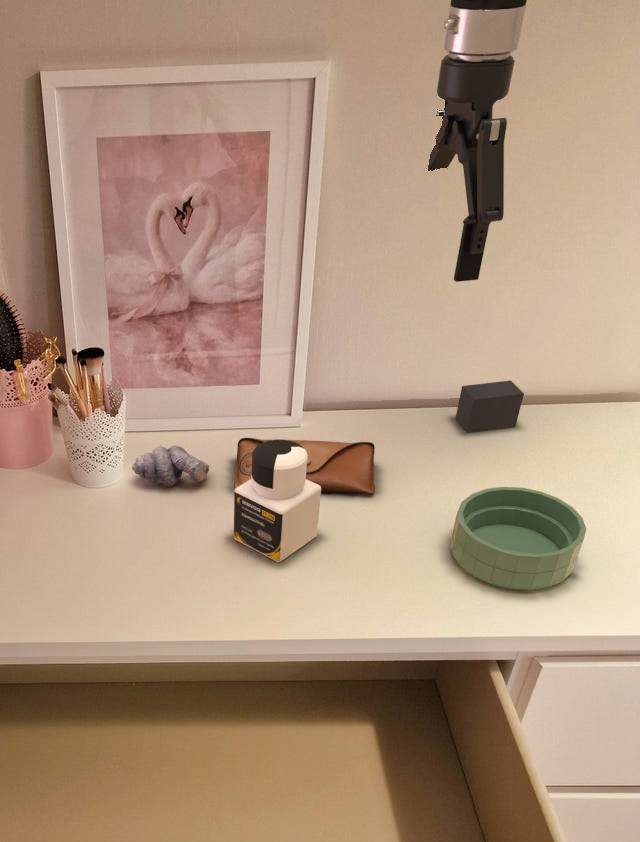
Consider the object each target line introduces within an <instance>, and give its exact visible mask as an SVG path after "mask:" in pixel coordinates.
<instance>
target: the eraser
mask: <svg viewBox="0 0 640 842" xmlns="http://www.w3.org/2000/svg"><path fill="white" fill-rule="evenodd" d="M524 396H525V393H524V392H523V391H522V390H521V389H520V387H518V386H517V385H516V384H515V383H514V382H513V381H512V380H510V379H509V380H502V381H494V382H486V383H485V382H484V383H476V384H469V385H468V384H467V385H462V386H461V390H460V394H459V398H458V405H457V409H456V414H455V418H454V419H455V421H456V422H457V423H458V424H459V425H460V426H461V428H462V429H463V430H464V431H465V432H466V434H469V433H475V432H485V431H494V430H503V429H509V428H511V429H512V428H516V426H517V423H518V419H519V414H520V411H521V408H522V403H523V400H524Z"/></svg>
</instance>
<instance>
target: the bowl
mask: <svg viewBox="0 0 640 842" xmlns="http://www.w3.org/2000/svg"><path fill="white" fill-rule="evenodd" d="M586 532H587V527H586V524H585V520H584V518H583V516H582V515H581V514H580V513H579V512H578V511H577V510H576V508H574V507H573V506H572V505H570V504H568V503H567V502H565V501H564V500H562V499H561V498H559V497H556V496H554V495H551V494H548V493H547V492H543V491H540V490H536V489H532V488H527V487H515V486H499V487H498V486H497V487H491V488H484V489H482V490H479V491H475V492H473V493H471V494H469V495H468V496H467V497H466V498H464V499H463V500H462V501H461V502H460V504H459V507H458V509H457V512H456V516H455V521H454V525H453V529H452V533H451V538H450V551H451V555H452V556H453V557H454V559H455V561H456V562H457V564H458V565H459V567H461V568H463V570H464V571H466V572H468V573H469V574H470V575H471V576H473V577H474V578H476V579H478V580H480V581H482V582H485V583H486V584H490V585H491V586H495V587H498V588H504V589H509V590H516V591H517V590H518V591H529V590H537V589H544V588H549V587H552V586H554V585H555V586H556V585H557V584H559V583H561V582H563V581H564V580H566V579H567V578H568V577H569V576H570V575H571V574H572V573H573V571H574V568H575V566H576V563H577V560H578V557H579V555H580V552H581V550H582V549H581V548H582V545H583V543H584V540H585V537H586Z"/></svg>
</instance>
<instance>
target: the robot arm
mask: <svg viewBox="0 0 640 842" xmlns="http://www.w3.org/2000/svg"><path fill="white" fill-rule="evenodd" d="M527 1H528V0H450V5H449V11H448V16H447V17H448V18H447V19H445V20H444V22H443V28H444V30H445V31H446V32H445V38H444V44H443V45H444V46H443V49H444V51H445V52H446V53H448V54H446V55H445V56H444V57H443V58H442V59H441V62H440V68H439V74H438V81H437V87H436V94H437V95H438V96H439V97H440V98H442V99H444V100H445V108H444V110H439V111H437V115H436V116H443V117H442V119H443V121H442V126H441V128H440V130H439V132H438V134H437V136H436V138H435V139H436V145H435V146H434V148H433V150H432V152H431V154H430V159H429V165H428V171H430V170H431V171H433V170H435V169H436V170H437V169H440V168H447V167H449V166H450V165H451V163H452V161H453V160H454V158H455V156H456V155H457V161H458V163H460V164H461V165H462V169H463V170H462V171H463V177H464V178H463V179H464V187H465V196H466V201H467V202H466V205H467V213H468V215H467V216H466V217H465V218H464V219H463V220H462V224H463V226H462V232H461V236H460V237H461V238H460V242H459V248H458V254H457V258H456V265H455V268H454V269H455V270H454V275H453V281H454V282H456V283H459V282H466V281H467V282H468V281H469V282H470V281H477V280H479V277H480V273H481V268H482V263H483V258H484V254H485V248H486V243H487V238H488V233H489V228H490V225H491V223H492V222H501V221H502V220H503V218H504V212H505V211H504V209H505V199H504V197H505V196H504V194H505V193H504V192H505V166H504V165H505V138H506V132H507V125H508V121H507V118H506V117H499V118H493V110H494V105H495V103H496V102H497V101H500V100H503V99H505V97H506V96H508V94H509V90H510V86H511V83H512V82H511V81H512V77H513V71H514V66H515V59H514V57H513V55H511V54H513V53H514V52H515V51H516V50H518V47H519V42H520V37H521V34H522V33H521V31H522V27H523V23H524V18H525V17H524V16H525V12H526V8H527ZM437 110H438V109H437ZM447 169H448V168H447Z"/></svg>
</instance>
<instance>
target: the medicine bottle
mask: <svg viewBox="0 0 640 842" xmlns="http://www.w3.org/2000/svg"><path fill="white" fill-rule="evenodd" d="M268 440H269V441H266V442H263V443H261V444H259V445H258V446H257V447H256V448H255V449H254V450H253V452H252V473H251V479H250V480H249V481H247V482H245V483H244V484H242V485H240V486H239V487H237V488H236V489H235V488H234V492H233V493H234V496H233V505H234V506H233V539H234V540H235V541H237V542H239V543H240V544H242V545H244V546H246V547H248V548H250V549H252V550H254V551H256V552H257V553H260V554H261V555H263V556H265V557H267V558H269V559H271V560H273V561H274V562H276V563H280V562H282V561H284V560H286V558H288V557H289V556H292V554H294V553H295V552H297V551H298V550H299V549H301V548H302V547H304V546H305V545H306V544H308V543H309V542H311V541H312V540H314V539H315V538H316V537H317V535H318V527H319V515H320V505H321V495H322V493H321V486H320V485H318V484H315V483H313V482H311V481H309V480H307V479H306V468H307V452H306V450H305V449H304V448H303V447H302V446H301V445H300V444H298V443H296V442H293V441H289V440H290V439H277V438H276V439H268Z"/></svg>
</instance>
